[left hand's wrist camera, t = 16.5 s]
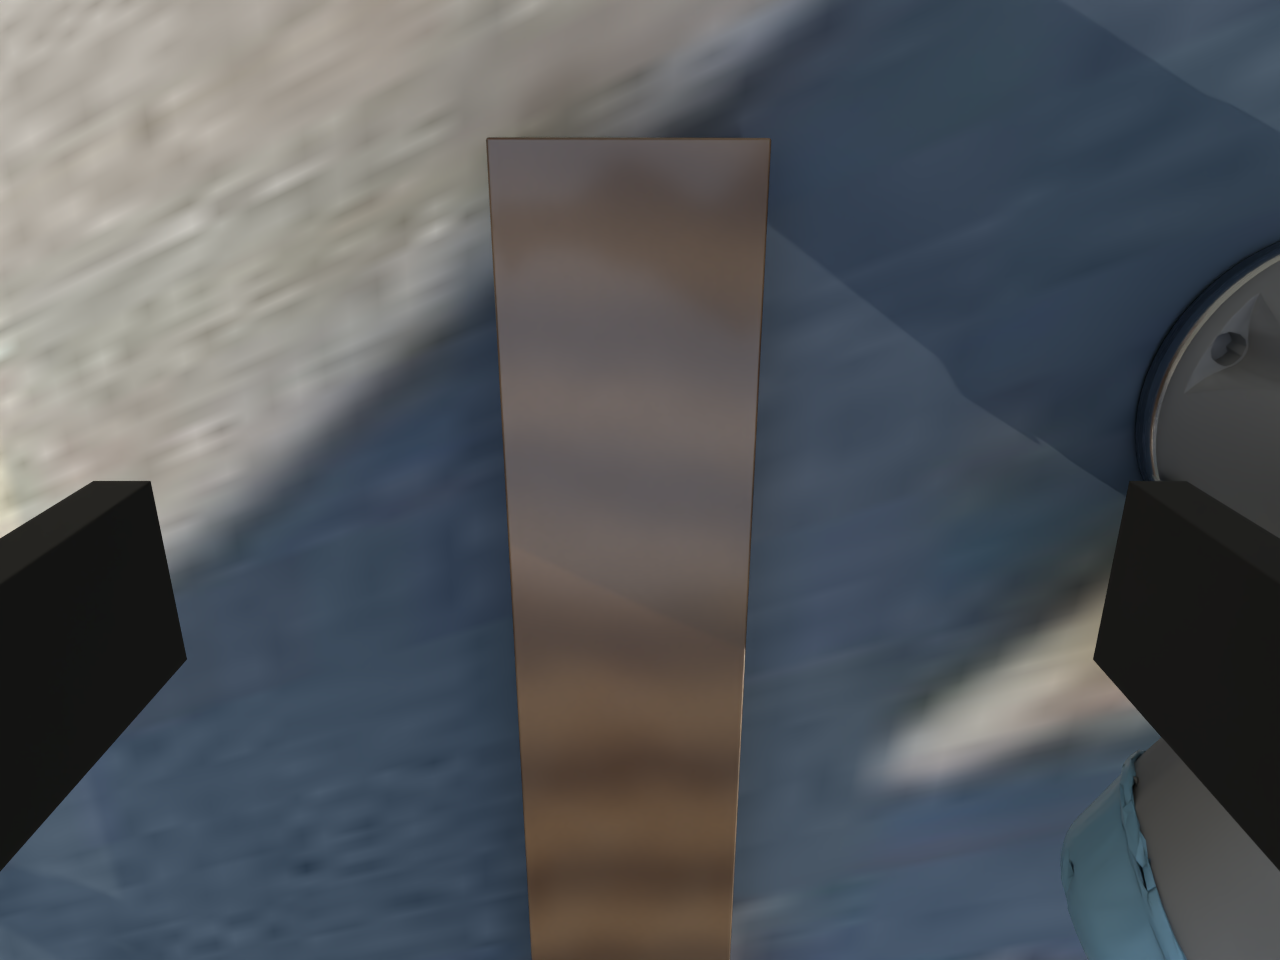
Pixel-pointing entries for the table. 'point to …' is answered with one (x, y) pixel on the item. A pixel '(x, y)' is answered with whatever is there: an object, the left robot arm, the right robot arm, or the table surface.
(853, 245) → the table surface
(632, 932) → the wide beam
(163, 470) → the table surface
